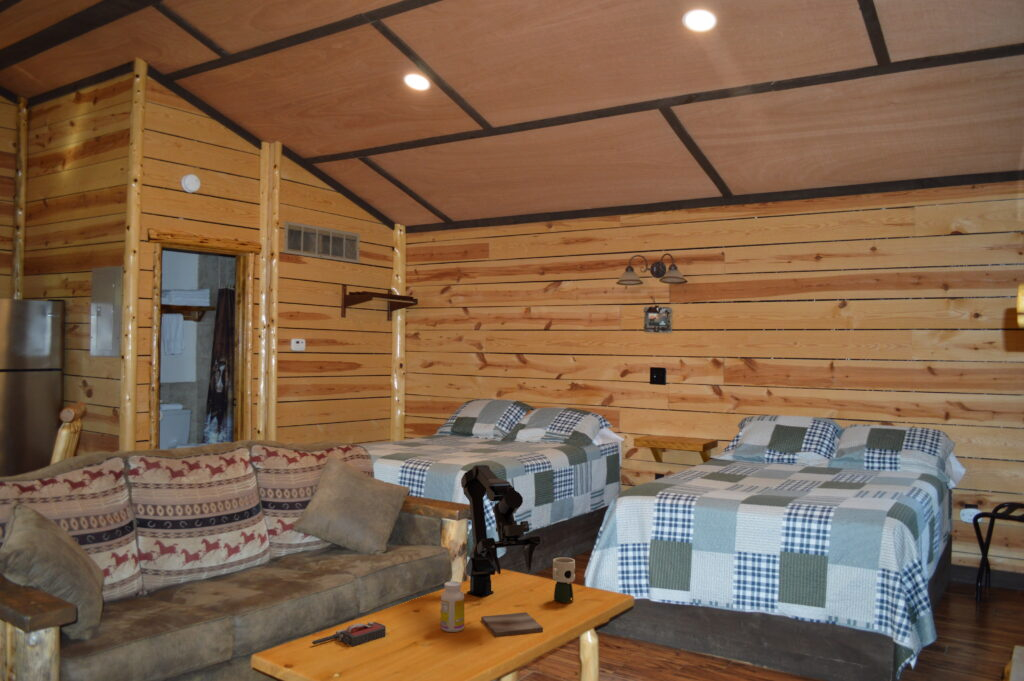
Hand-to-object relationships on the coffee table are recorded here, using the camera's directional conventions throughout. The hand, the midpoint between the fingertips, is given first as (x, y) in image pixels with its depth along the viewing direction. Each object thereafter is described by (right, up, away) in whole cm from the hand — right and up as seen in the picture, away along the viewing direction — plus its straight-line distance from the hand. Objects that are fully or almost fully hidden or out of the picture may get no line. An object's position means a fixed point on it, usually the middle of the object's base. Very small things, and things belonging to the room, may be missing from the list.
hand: (514, 572), depth 232 cm
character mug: (+16, -16, +22) cm, 31 cm away
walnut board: (-1, -15, -2) cm, 15 cm away
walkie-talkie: (-45, -15, -15) cm, 49 cm away
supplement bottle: (-18, -15, -5) cm, 24 cm away
